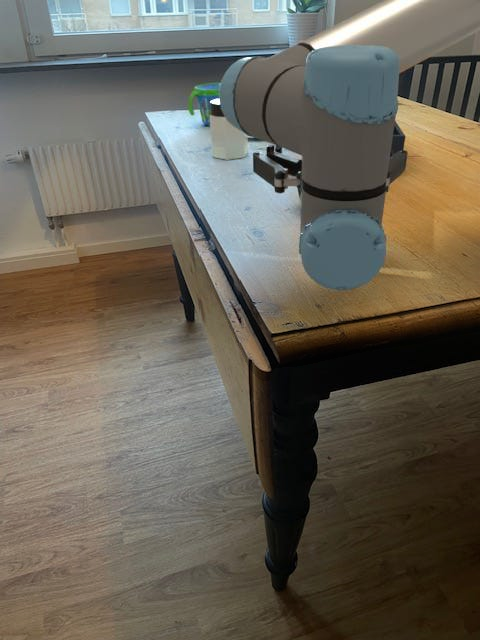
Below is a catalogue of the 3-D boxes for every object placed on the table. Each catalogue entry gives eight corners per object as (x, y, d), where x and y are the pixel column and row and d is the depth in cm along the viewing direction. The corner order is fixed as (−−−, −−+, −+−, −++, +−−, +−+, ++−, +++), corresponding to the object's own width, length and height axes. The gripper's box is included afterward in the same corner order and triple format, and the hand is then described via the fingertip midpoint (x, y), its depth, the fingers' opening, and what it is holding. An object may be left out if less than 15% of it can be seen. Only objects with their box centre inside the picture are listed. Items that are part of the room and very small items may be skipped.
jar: (242, 148, 124) (240, 95, 117) (253, 156, 118) (252, 101, 111) (207, 152, 122) (203, 99, 115) (217, 161, 115) (213, 106, 109)
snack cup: (197, 131, 140) (193, 91, 135) (184, 123, 148) (180, 86, 143) (247, 123, 146) (245, 85, 140) (231, 116, 154) (230, 80, 148)
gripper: (225, 228, 59) (242, 171, 77) (443, 229, 57) (409, 170, 74) (221, 164, 55) (240, 120, 73) (456, 162, 52) (417, 117, 70)
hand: (325, 145), depth 73 cm, fingers open, 13 cm apart
